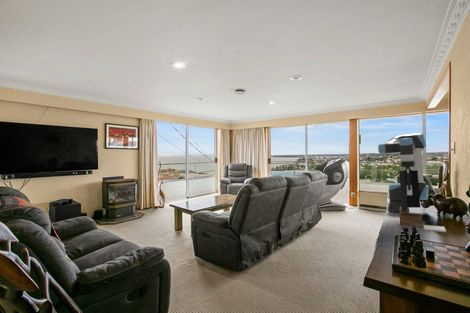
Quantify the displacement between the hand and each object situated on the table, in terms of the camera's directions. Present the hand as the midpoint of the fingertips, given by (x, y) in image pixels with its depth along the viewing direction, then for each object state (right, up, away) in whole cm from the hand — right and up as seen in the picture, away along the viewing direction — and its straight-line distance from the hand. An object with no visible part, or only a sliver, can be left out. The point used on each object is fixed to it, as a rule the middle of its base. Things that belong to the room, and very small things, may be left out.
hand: (409, 193), depth 162 cm
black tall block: (0, -9, 0) cm, 9 cm away
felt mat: (+4, -19, -16) cm, 25 cm away
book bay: (+1, -20, -1) cm, 20 cm away
